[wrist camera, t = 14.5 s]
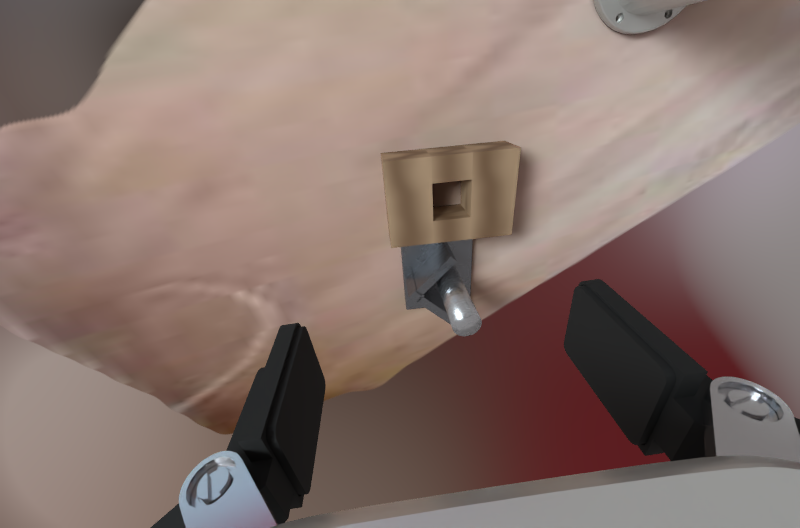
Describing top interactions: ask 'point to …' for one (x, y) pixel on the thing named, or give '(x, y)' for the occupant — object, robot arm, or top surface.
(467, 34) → the top surface
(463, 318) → the axle
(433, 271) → the v block
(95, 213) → the top surface
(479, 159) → the wooden block with hole
